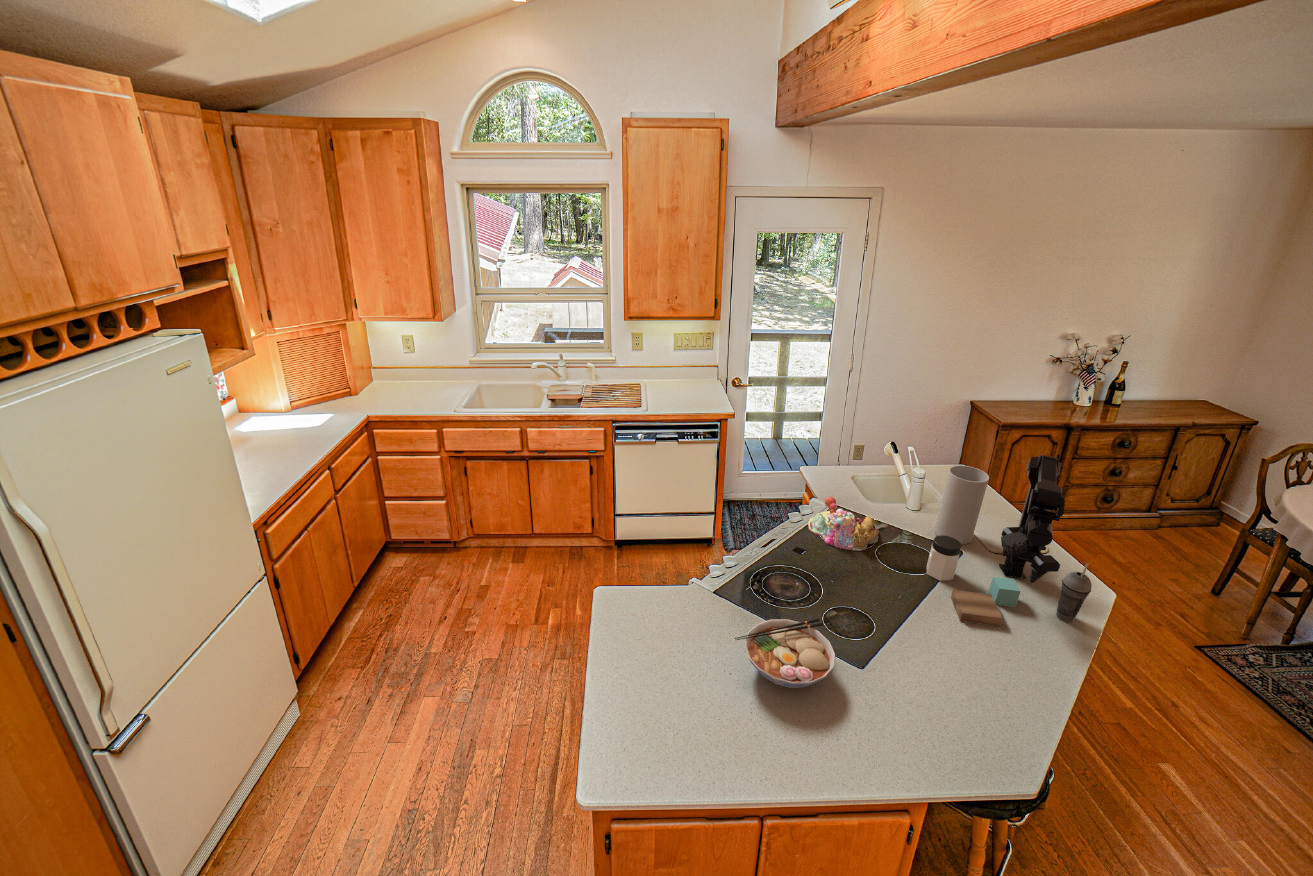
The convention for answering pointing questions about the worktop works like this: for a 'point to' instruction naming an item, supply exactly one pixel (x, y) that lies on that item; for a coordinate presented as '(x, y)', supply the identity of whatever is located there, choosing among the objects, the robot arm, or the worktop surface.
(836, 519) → the pastel sphere sculpture
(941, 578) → the jar
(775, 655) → the ramen bowl
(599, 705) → the worktop surface
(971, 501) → the cylinder vase
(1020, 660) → the worktop surface
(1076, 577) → the beverage cup
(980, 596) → the walnut base
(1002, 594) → the teal block
